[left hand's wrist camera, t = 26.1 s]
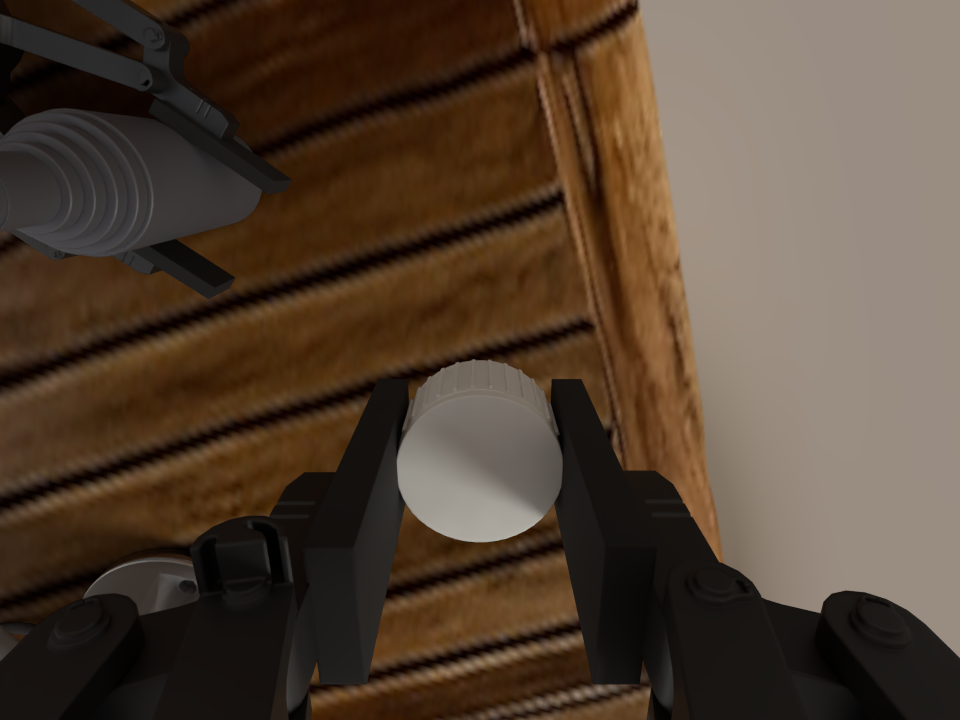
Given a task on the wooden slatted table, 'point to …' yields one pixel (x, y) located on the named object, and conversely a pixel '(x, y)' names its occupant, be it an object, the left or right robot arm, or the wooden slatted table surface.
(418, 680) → the wooden slatted table surface
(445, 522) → the cap
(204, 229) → the bottle
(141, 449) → the wooden slatted table surface
